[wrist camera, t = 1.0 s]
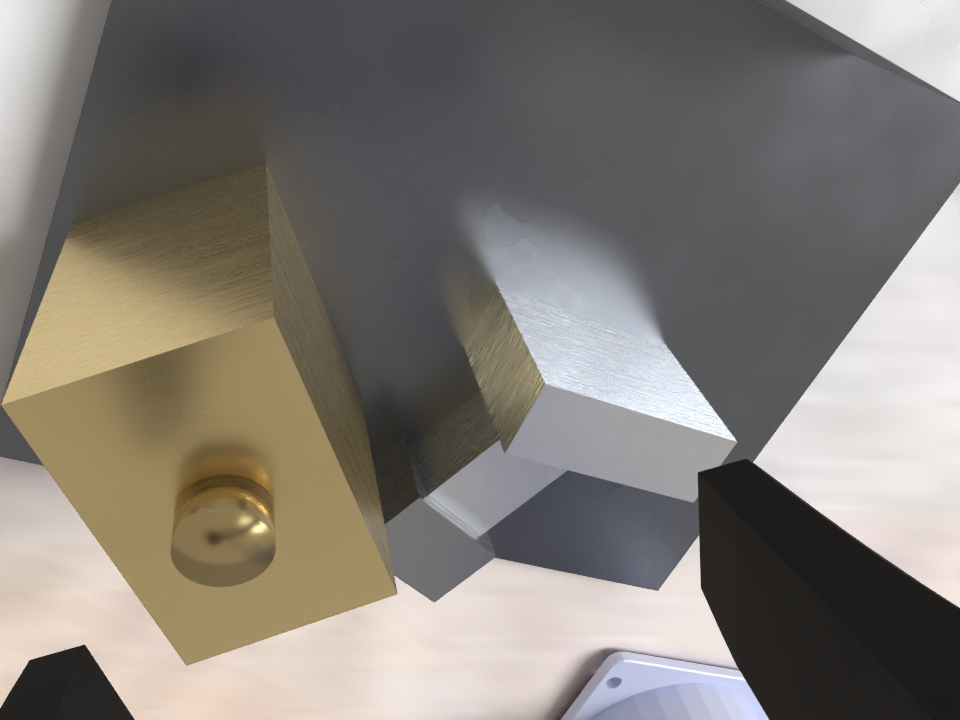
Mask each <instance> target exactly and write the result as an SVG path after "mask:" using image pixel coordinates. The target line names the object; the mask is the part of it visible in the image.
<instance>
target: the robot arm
mask: <svg viewBox="0 0 960 720" xmlns="http://www.w3.org/2000/svg"><path fill="white" fill-rule="evenodd" d="M698 504H699V537H700V570H701V589H702V591H703V593H704V595H705V598H706V600H707V602H708V604H709V607H710V609H711V611H712V613H713V616H714V618H715V620H716V622H717V624H718V627H719V629H720V631H721V633H722V635H723V637H724V640H725V642H726V644H727V646H728V648H729V650H730V652H731V654H732V657H733V659H734V661H735V663H736V665H737V667H738V668H739V670H740V671H739V670H733V669H727V668H721V667H715V666H709V665H703V664H697V663H691V662H685V661H679V660H673V659H667V658H661V657H655V656H649V655H643V654H637V653H631V652H625V651H619V652H616V653H613V654H611V655H609V656H608V657H607V658H606V659H605V660H604V662H603V663H602V664H601V666H600V667H599V668H598V670H597V671H596V672H595V674H594V675H593V677H592V678H591V679H590V681H589V682H588V683H587V685H586V686H585V687H584V689H583V690H582V691H581V693H580V694H579V695H578V697H577V698H576V700H575V701H574V702H573V704H572V705H571V706H570V708H569V709H568V710H567V712H566V713H565V714H564V716H563V717H562V719H561V720H960V608H959V607H957V606H956V605H954V604H953V603H951V602H950V601H948V600H946V599H945V598H943V597H942V596H940V595H939V594H937V593H936V592H934V591H933V590H931V589H929V588H928V587H926V586H925V585H923V584H922V583H920V582H919V581H917V580H916V579H914V578H913V577H911V576H910V575H908V574H907V573H905V572H904V571H903V570H901V569H900V568H898V567H897V566H895V565H894V564H892V563H891V562H889V561H888V560H886V559H885V558H883V557H882V556H880V555H879V554H877V553H876V552H875V551H873V550H872V549H870V548H869V547H867V546H866V545H864V544H863V543H862V542H860V541H859V540H857V539H856V538H855V537H853V536H852V535H850V534H849V533H847V532H846V531H845V530H843V529H842V528H841V527H839V526H838V525H836V524H835V523H834V522H832V521H831V520H830V519H828V518H827V517H825V516H824V515H823V514H821V513H820V512H819V511H817V510H816V509H814V508H813V507H812V506H810V505H809V504H808V503H806V502H805V501H804V500H802V499H801V498H800V497H798V496H797V495H796V494H794V493H793V492H792V491H790V490H789V489H788V488H786V487H785V486H784V485H782V484H781V483H780V482H778V481H777V480H776V479H774V478H773V477H772V476H770V475H769V474H768V473H766V472H765V471H764V470H762V469H761V468H760V467H758V466H757V465H756V464H754V463H753V462H751V461H749V460H748V459H743V460H739V461H736V462H732V463H729V464H725V465H722V466H718V467H715V468H711V469H707V470H704V471H700V472H698ZM0 720H134V718H133V717H132V715H131V714H130V712H129V711H128V709H127V708H126V706H125V705H124V703H123V702H122V700H121V699H120V697H119V696H118V694H117V693H116V691H115V689H114V688H113V686H112V685H111V683H110V682H109V680H108V679H107V677H106V676H105V674H104V673H103V671H102V670H101V668H100V667H99V665H98V664H97V662H96V661H95V659H94V658H93V656H92V655H91V653H90V652H89V650H88V649H87V647H86V646H85V645H82V646H78V647H75V648H71V649H68V650H64V651H61V652H57V653H54V654H50V655H46V656H43V657H39V658H36V659H32V660H30V661H29V662H28V664H27V666H26V667H25V669H24V670H23V672H22V674H21V675H20V677H19V678H18V680H17V682H16V683H15V685H14V687H13V688H12V690H11V691H10V693H9V695H8V696H7V698H6V700H5V701H4V703H3V705H2V706H1V708H0Z"/></svg>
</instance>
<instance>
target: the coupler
mask: <svg viewBox="0 0 960 720" xmlns="http://www.w3.org/2000/svg"><path fill="white" fill-rule="evenodd" d="M1 406H2V407H3V408H4V410H5V411H6V413H7V414H8V415H9V417H10V418H11V420H12V421H13V422H14V424H15V425H16V427H17V428H18V430H19V431H20V432H21V434H22V435H23V437H24V438H25V439H26V441H27V442H28V444H29V445H30V446H31V448H32V449H33V451H34V452H35V453H36V455H37V456H38V458H39V459H40V460H41V462H42V463H43V465H44V466H45V467H46V469H47V470H48V472H49V473H50V475H51V476H52V477H53V479H54V480H55V482H56V483H57V484H58V486H59V487H60V489H61V490H62V491H63V493H64V494H65V496H66V497H67V498H68V500H69V501H70V503H71V504H72V505H73V507H74V508H75V510H76V511H77V512H78V514H79V515H80V517H81V518H82V519H83V521H84V522H85V524H86V525H87V527H88V528H89V529H90V531H91V532H92V534H93V535H94V536H95V538H96V539H97V541H98V542H99V543H100V545H101V546H102V548H103V549H104V550H105V552H106V553H107V555H108V556H109V557H110V559H111V560H112V562H113V563H114V564H115V566H116V567H117V569H118V570H119V571H120V573H121V574H122V576H123V577H124V579H125V580H126V581H127V583H128V584H129V586H130V587H131V588H132V590H133V591H134V593H135V594H136V595H137V597H138V598H139V600H140V601H141V602H142V604H143V605H144V607H145V608H146V609H147V611H148V612H149V614H150V615H151V616H152V618H153V619H154V621H155V622H156V624H157V625H158V626H159V628H160V629H161V631H162V632H163V633H164V635H165V636H166V638H167V639H168V640H169V642H170V643H171V645H172V646H173V647H174V649H175V650H176V652H177V653H178V654H179V656H180V657H181V659H182V660H183V661H184V663H185V664H186V666H187V665H190V664H193V663H196V662H199V661H202V660H205V659H208V658H211V657H213V656H216V655H219V654H222V653H225V652H228V651H231V650H234V649H237V648H240V647H243V646H246V645H249V644H252V643H255V642H258V641H261V640H264V639H267V638H269V637H272V636H275V635H278V634H281V633H284V632H287V631H290V630H293V629H296V628H299V627H302V626H305V625H308V624H311V623H314V622H317V621H320V620H323V619H325V618H328V617H331V616H334V615H337V614H340V613H343V612H346V611H349V610H352V609H355V608H358V607H361V606H364V605H367V604H370V603H373V602H376V601H379V600H381V599H384V598H387V597H390V596H393V595H396V594H397V589H396V584H395V578H394V573H393V567H392V562H391V557H390V551H389V546H388V540H387V535H386V530H385V524H384V519H383V513H382V508H381V503H380V497H379V492H378V486H377V481H376V476H375V470H374V465H373V459H372V454H371V449H370V443H369V438H368V432H367V427H366V422H365V416H364V411H363V405H362V400H361V397H360V395H359V392H358V390H357V388H356V385H355V383H354V380H353V378H352V375H351V373H350V370H349V368H348V365H347V363H346V360H345V358H344V355H343V353H342V350H341V348H340V345H339V343H338V340H337V338H336V335H335V333H334V331H333V328H332V326H331V323H330V321H329V318H328V316H327V313H326V311H325V308H324V306H323V303H322V301H321V298H320V296H319V293H318V291H317V288H316V286H315V283H314V281H313V278H312V276H311V274H310V271H309V269H308V266H307V264H306V261H305V259H304V256H303V254H302V251H301V249H300V246H299V244H298V241H297V239H296V236H295V234H294V231H293V229H292V226H291V224H290V221H289V219H288V217H287V214H286V212H285V209H284V207H283V204H282V202H281V199H280V197H279V194H278V192H277V189H276V187H275V184H274V182H273V179H272V177H271V174H270V172H269V169H268V167H267V164H266V163H265V164H262V165H259V166H255V167H252V168H249V169H246V170H243V171H239V172H236V173H233V174H230V175H227V176H224V177H220V178H217V179H214V180H211V181H208V182H204V183H201V184H198V185H195V186H192V187H189V188H185V189H182V190H179V191H176V192H173V193H169V194H166V195H163V196H160V197H157V198H154V199H150V200H147V201H144V202H141V203H138V204H134V205H131V206H128V207H125V208H122V209H119V210H115V211H112V212H109V213H106V214H103V215H99V216H96V217H93V218H90V219H87V220H83V221H80V222H77V223H74V224H72V225H71V228H70V230H69V233H68V235H67V238H66V240H65V243H64V246H63V248H62V251H61V253H60V256H59V258H58V261H57V263H56V266H55V269H54V271H53V274H52V276H51V279H50V281H49V284H48V286H47V289H46V292H45V294H44V297H43V299H42V302H41V304H40V307H39V309H38V312H37V315H36V317H35V320H34V322H33V325H32V327H31V330H30V332H29V335H28V338H27V340H26V343H25V345H24V348H23V350H22V353H21V355H20V358H19V361H18V363H17V366H16V368H15V371H14V373H13V376H12V378H11V381H10V384H9V386H8V389H7V391H6V394H5V396H4V399H3V401H2V404H1Z"/></svg>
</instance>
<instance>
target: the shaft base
mask: <svg viewBox="0 0 960 720" xmlns="http://www.w3.org/2000/svg"><path fill="white" fill-rule="evenodd" d="M265 163H266V164H267V167H268V169H269V172H270V174H271V177H272V179H273V182H274V184H275V187H276V189H277V192H278V194H279V197H280V199H281V202H282V204H283V207H284V209H285V212H286V214H287V217H288V219H289V221H290V224H291V226H292V229H293V231H294V234H295V236H296V239H297V241H298V244H299V246H300V249H301V251H302V254H303V256H304V259H305V261H306V264H307V266H308V269H309V271H310V274H311V276H312V278H313V281H314V283H315V286H316V288H317V291H318V293H319V296H320V298H321V301H322V303H323V306H324V308H325V311H326V313H327V316H328V318H329V321H330V323H331V326H332V328H333V331H334V333H335V335H336V338H337V340H338V343H339V345H340V348H341V350H342V353H343V355H344V358H345V360H346V363H347V365H348V368H349V370H350V373H351V375H352V378H353V380H354V383H355V385H356V388H357V390H358V392H359V395H360V397H361V400H362V405H363V411H364V416H365V422H366V427H367V432H368V438H369V443H370V449H371V454H372V459H373V465H374V470H375V476H376V481H377V486H378V492H379V497H380V503H381V508H382V513H383V519H384V524H385V530H386V535H387V540H388V546H389V551H390V557H391V562H392V567H393V573H394V575H395V576H396V577H398V578H399V579H401V580H402V581H403V582H405V583H406V584H408V585H409V586H411V587H412V588H414V589H415V590H417V591H418V592H420V593H421V594H423V595H424V596H425V597H427V598H428V599H430V600H431V601H433V602H436V601H437V600H438V599H440V598H441V597H442V596H444V595H445V594H446V593H448V592H449V591H450V590H452V589H453V588H454V587H456V586H457V585H458V584H460V583H461V582H463V581H464V580H465V579H467V578H468V577H469V576H471V575H472V574H473V573H475V572H476V571H477V570H479V569H480V568H481V567H483V566H484V565H485V564H487V563H488V562H489V561H491V560H492V559H493V558H500V559H505V560H509V561H514V562H519V563H524V564H529V565H534V566H539V567H544V568H549V569H554V570H558V571H563V572H568V573H573V574H578V575H583V576H588V577H593V578H598V579H603V580H607V581H612V582H617V583H622V584H627V585H632V586H637V587H642V588H647V589H652V590H656V591H658V590H659V588H660V587H661V586H662V584H663V583H664V582H665V580H666V579H667V578H668V576H669V575H670V573H671V572H672V571H673V569H674V568H675V567H676V565H677V564H678V563H679V561H680V560H681V559H682V557H683V556H684V555H685V553H686V552H687V551H688V549H689V548H690V546H691V545H692V544H693V542H694V541H695V540H696V538H697V537H698V536H699V504H698V472H700V471H704V470H707V469H711V468H715V467H718V466H722V465H725V464H729V463H732V462H736V461H739V460H743V459H748V460H749V461H751V462H753V461H754V460H755V459H756V457H757V456H758V455H759V453H760V452H761V451H762V449H763V448H764V446H765V445H766V444H767V442H768V441H769V440H770V438H771V437H772V436H773V434H774V433H775V432H776V430H777V429H778V428H779V426H780V425H781V423H782V422H783V421H784V419H785V418H786V417H787V415H788V414H789V413H790V411H791V410H792V409H793V407H794V406H795V405H796V403H797V402H798V400H799V399H800V398H801V396H802V395H803V394H804V392H805V391H806V390H807V388H808V387H809V386H810V384H811V383H812V382H813V380H814V379H815V378H816V376H817V375H818V373H819V372H820V371H821V369H822V368H823V367H824V365H825V364H826V363H827V361H828V360H829V359H830V357H831V356H832V355H833V353H834V352H835V350H836V349H837V348H838V346H839V345H840V344H841V342H842V341H843V340H844V338H845V337H846V336H847V334H848V333H849V332H850V330H851V329H852V328H853V326H854V325H855V323H856V322H857V321H858V319H859V318H860V317H861V315H862V314H863V313H864V311H865V310H866V309H867V307H868V306H869V305H870V303H871V302H872V300H873V299H874V298H875V296H876V295H877V294H878V292H879V291H880V290H881V288H882V287H883V286H884V284H885V283H886V282H887V280H888V279H889V278H890V276H891V275H892V273H893V272H894V271H895V269H896V268H897V267H898V265H899V264H900V263H901V261H902V260H903V259H904V257H905V256H906V255H907V253H908V252H909V250H910V249H911V248H912V246H913V245H914V244H915V242H916V241H917V240H918V238H919V237H920V236H921V234H922V233H923V232H924V230H925V229H926V227H927V226H928V225H929V223H930V222H931V221H932V219H933V218H934V217H935V215H936V214H937V213H938V211H939V210H940V209H941V207H942V206H943V205H944V203H945V202H946V200H947V199H948V198H949V196H950V195H951V194H952V192H953V191H954V190H955V188H956V187H957V186H958V184H959V183H960V0H112V2H111V6H110V10H109V13H108V17H107V21H106V24H105V28H104V32H103V35H102V39H101V43H100V46H99V50H98V54H97V57H96V61H95V65H94V68H93V72H92V76H91V79H90V83H89V87H88V90H87V94H86V98H85V101H84V105H83V109H82V112H81V116H80V120H79V123H78V127H77V131H76V134H75V138H74V142H73V145H72V149H71V153H70V156H69V160H68V164H67V167H66V171H65V174H64V178H63V182H62V185H61V189H60V193H59V196H58V200H57V204H56V207H55V211H54V215H53V218H52V222H51V226H50V229H49V233H48V237H47V240H46V244H45V248H44V251H43V255H42V259H41V262H40V266H39V270H38V273H37V277H36V281H35V284H34V288H33V292H32V295H31V299H30V303H29V306H28V310H27V314H26V317H25V321H24V325H23V328H22V332H21V336H20V339H19V343H18V347H17V350H16V354H15V358H14V361H13V365H12V369H11V372H10V376H9V380H8V383H7V387H6V391H7V389H8V386H9V384H10V381H11V378H12V376H13V373H14V371H15V368H16V366H17V363H18V361H19V358H20V355H21V353H22V350H23V348H24V345H25V343H26V340H27V338H28V335H29V332H30V330H31V327H32V325H33V322H34V320H35V317H36V315H37V312H38V309H39V307H40V304H41V302H42V299H43V297H44V294H45V292H46V289H47V286H48V284H49V281H50V279H51V276H52V274H53V271H54V269H55V266H56V263H57V261H58V258H59V256H60V253H61V251H62V248H63V246H64V243H65V240H66V238H67V235H68V233H69V230H70V228H71V225H72V224H74V223H77V222H80V221H83V220H87V219H90V218H93V217H96V216H99V215H103V214H106V213H109V212H112V211H115V210H119V209H122V208H125V207H128V206H131V205H134V204H138V203H141V202H144V201H147V200H150V199H154V198H157V197H160V196H163V195H166V194H169V193H173V192H176V191H179V190H182V189H185V188H189V187H192V186H195V185H198V184H201V183H204V182H208V181H211V180H214V179H217V178H220V177H224V176H227V175H230V174H233V173H236V172H239V171H243V170H246V169H249V168H252V167H255V166H259V165H262V164H265ZM6 391H5V394H6ZM5 394H4V396H5ZM3 399H4V398H3ZM0 457H5V458H10V459H15V460H20V461H24V462H29V463H34V464H39V465H43V463H42V462H41V460H40V459H39V458H38V456H37V455H36V453H35V452H34V451H33V449H32V448H31V446H30V445H29V444H28V442H27V441H26V439H25V438H24V437H23V435H22V434H21V432H20V431H19V430H18V428H17V427H16V425H15V424H14V422H13V421H12V420H11V418H10V417H9V415H8V414H7V413H6V411H5V410H4V408H3V407H2V406H1V409H0Z"/></svg>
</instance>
